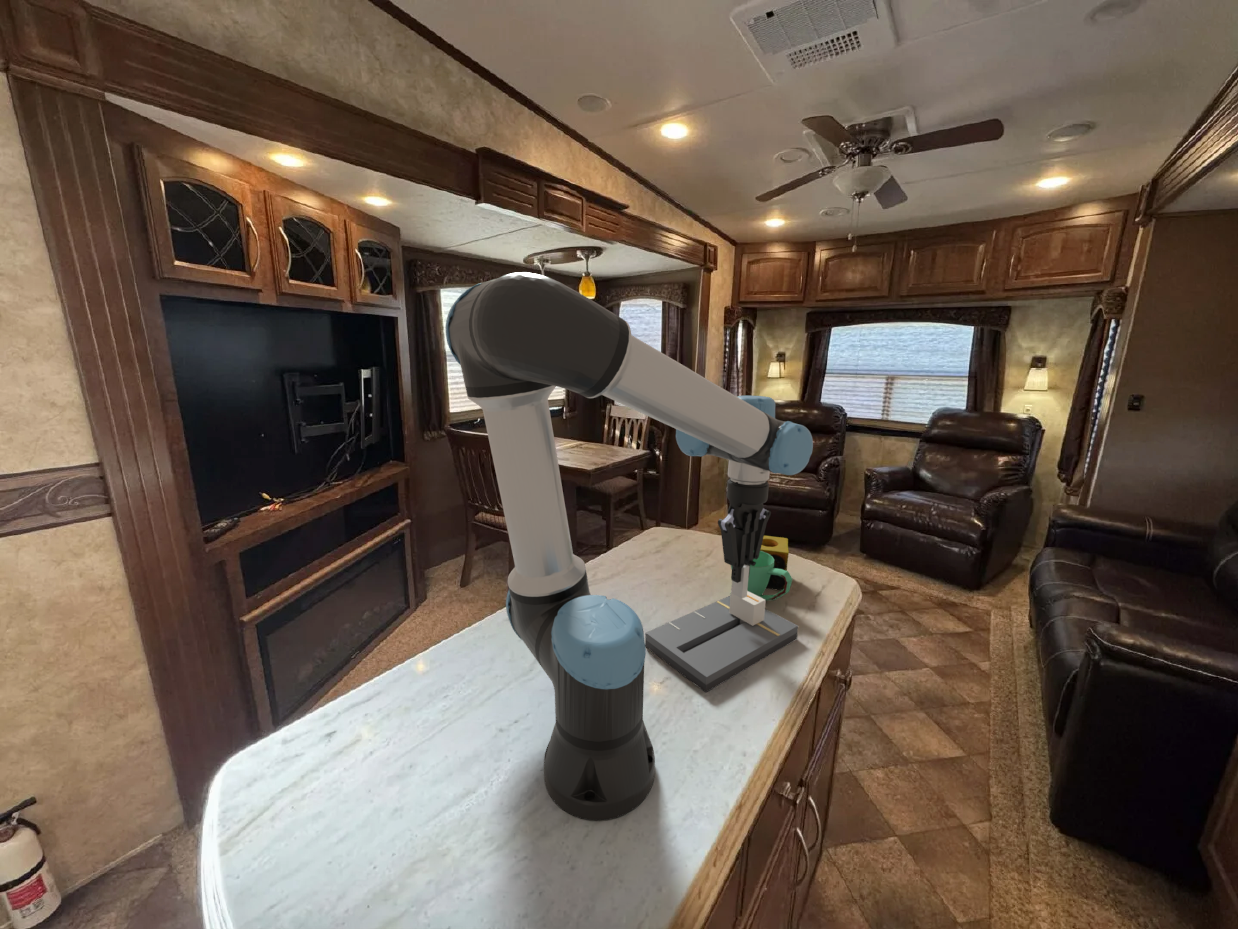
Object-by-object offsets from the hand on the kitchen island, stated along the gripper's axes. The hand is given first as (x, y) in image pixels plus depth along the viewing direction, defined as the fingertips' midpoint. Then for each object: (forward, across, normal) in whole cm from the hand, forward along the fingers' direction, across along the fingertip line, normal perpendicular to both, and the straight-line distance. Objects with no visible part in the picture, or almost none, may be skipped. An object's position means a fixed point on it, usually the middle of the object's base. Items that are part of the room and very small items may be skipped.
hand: (738, 594), depth 96 cm
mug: (+9, +15, +6) cm, 18 cm away
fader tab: (+7, +3, 0) cm, 8 cm away
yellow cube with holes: (+9, +25, +12) cm, 29 cm away
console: (+9, -4, 0) cm, 10 cm away
